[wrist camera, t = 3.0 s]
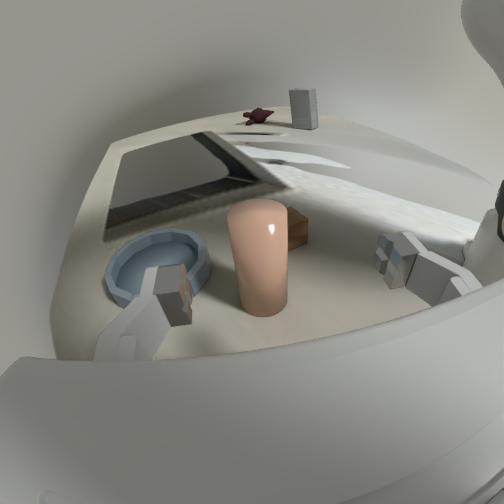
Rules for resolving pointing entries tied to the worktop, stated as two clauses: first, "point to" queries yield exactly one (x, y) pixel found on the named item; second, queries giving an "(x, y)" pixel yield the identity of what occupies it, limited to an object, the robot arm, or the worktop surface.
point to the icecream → (257, 116)
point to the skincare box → (304, 108)
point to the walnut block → (296, 228)
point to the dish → (156, 261)
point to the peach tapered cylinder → (260, 254)
